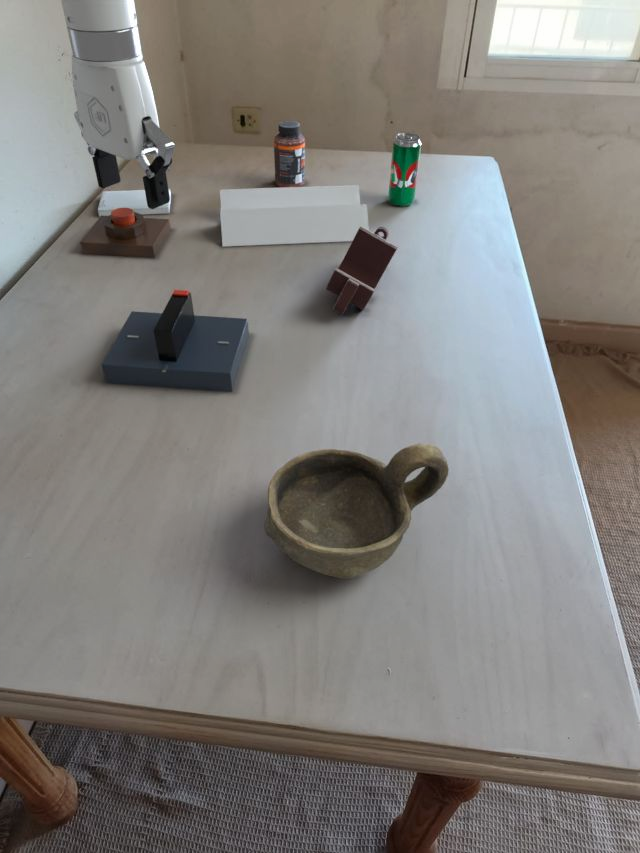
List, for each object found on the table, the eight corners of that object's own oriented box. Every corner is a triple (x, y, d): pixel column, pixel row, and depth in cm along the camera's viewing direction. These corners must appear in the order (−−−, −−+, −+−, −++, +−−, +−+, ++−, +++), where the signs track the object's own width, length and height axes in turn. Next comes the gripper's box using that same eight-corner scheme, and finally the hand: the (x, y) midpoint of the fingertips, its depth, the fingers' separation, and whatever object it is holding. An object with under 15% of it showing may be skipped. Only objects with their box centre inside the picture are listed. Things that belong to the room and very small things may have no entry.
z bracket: (363, 251, 114) (369, 240, 107) (224, 257, 111) (222, 246, 105) (358, 185, 114) (364, 170, 108) (220, 190, 112) (217, 175, 105)
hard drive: (97, 209, 112) (168, 205, 113) (102, 190, 118) (169, 187, 119) (99, 218, 113) (169, 214, 114) (104, 199, 119) (171, 195, 120)
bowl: (254, 496, 65) (248, 426, 59) (412, 468, 69) (423, 399, 62) (280, 611, 56) (276, 543, 49) (462, 572, 59) (483, 504, 52)
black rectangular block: (176, 361, 77) (171, 329, 74) (159, 360, 77) (152, 328, 74) (195, 321, 84) (190, 289, 80) (178, 320, 84) (173, 288, 80)
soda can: (414, 197, 121) (422, 132, 113) (413, 209, 117) (421, 142, 109) (388, 196, 122) (394, 130, 113) (386, 206, 118) (392, 140, 110)
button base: (83, 254, 103) (77, 231, 100) (103, 227, 110) (98, 205, 107) (154, 258, 102) (150, 235, 99) (171, 231, 109) (167, 208, 107)
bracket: (316, 303, 88) (349, 240, 82) (341, 269, 102) (370, 213, 96) (355, 325, 88) (389, 263, 82) (374, 287, 102) (404, 233, 97)
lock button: (110, 226, 102) (107, 216, 101) (117, 217, 105) (115, 206, 104) (131, 227, 102) (129, 217, 101) (138, 218, 105) (136, 208, 104)
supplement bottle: (307, 188, 123) (308, 128, 116) (278, 191, 122) (276, 130, 115) (301, 177, 128) (301, 117, 120) (272, 179, 127) (270, 119, 119)
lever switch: (104, 386, 78) (98, 366, 76) (136, 327, 88) (132, 307, 86) (231, 395, 77) (229, 375, 75) (249, 334, 87) (248, 315, 85)
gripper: (31, 37, 72) (69, 186, 83) (129, 64, 64) (156, 224, 76) (86, 27, 76) (114, 169, 88) (184, 51, 68) (201, 204, 80)
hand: (134, 194), depth 82 cm, fingers open, 9 cm apart
